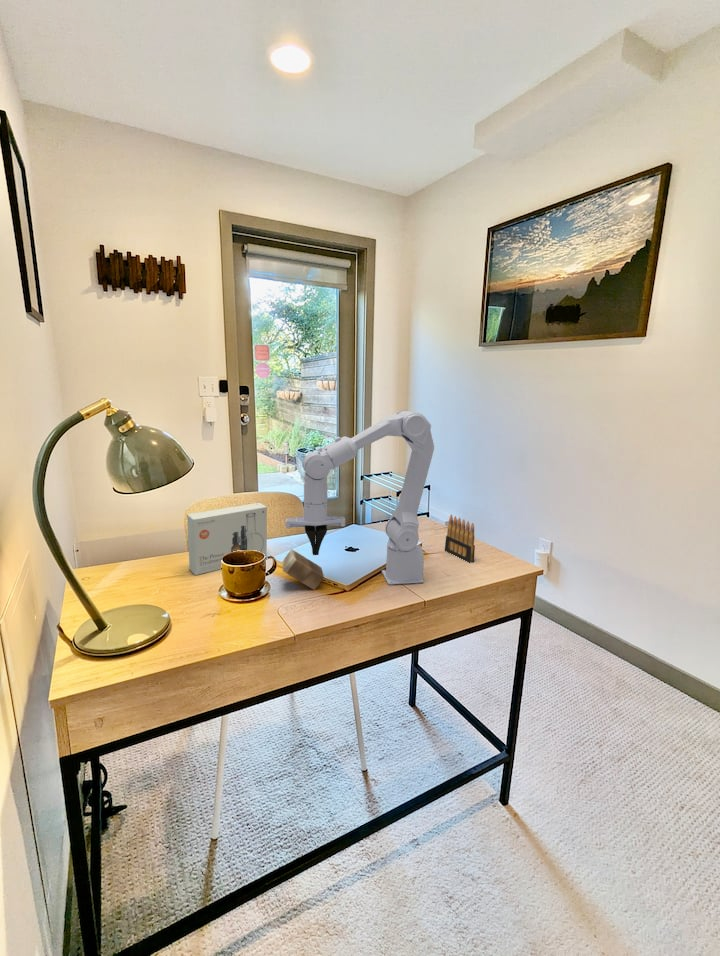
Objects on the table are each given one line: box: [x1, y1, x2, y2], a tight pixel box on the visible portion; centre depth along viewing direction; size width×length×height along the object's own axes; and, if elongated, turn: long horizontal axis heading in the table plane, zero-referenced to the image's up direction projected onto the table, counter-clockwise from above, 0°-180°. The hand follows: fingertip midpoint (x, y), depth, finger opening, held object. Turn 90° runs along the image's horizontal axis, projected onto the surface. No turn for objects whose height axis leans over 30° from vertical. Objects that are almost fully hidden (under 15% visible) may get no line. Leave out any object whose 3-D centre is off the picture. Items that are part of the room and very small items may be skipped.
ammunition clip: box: [444, 514, 476, 564], centre depth 132 cm, size 11×2×12 cm, turn 32°
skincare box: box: [186, 502, 268, 576], centre depth 122 cm, size 21×6×16 cm, turn 129°
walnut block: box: [282, 548, 325, 591], centre depth 112 cm, size 4×6×10 cm
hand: (315, 553), depth 111 cm, fingers closed
